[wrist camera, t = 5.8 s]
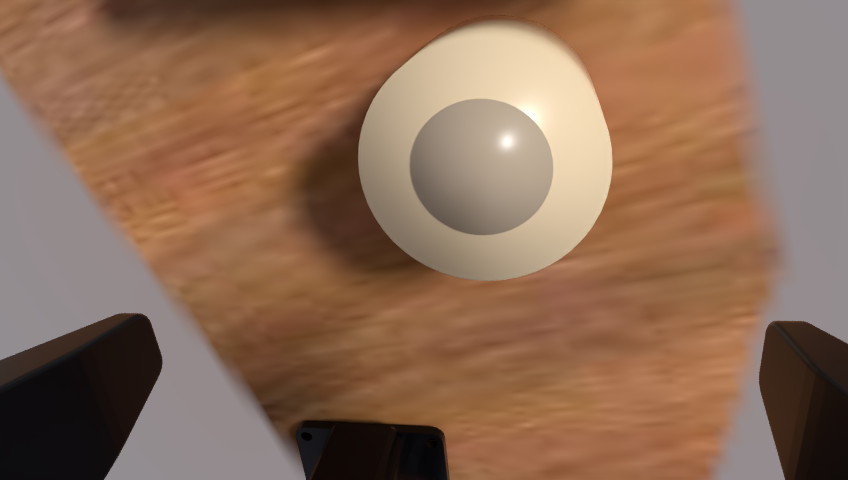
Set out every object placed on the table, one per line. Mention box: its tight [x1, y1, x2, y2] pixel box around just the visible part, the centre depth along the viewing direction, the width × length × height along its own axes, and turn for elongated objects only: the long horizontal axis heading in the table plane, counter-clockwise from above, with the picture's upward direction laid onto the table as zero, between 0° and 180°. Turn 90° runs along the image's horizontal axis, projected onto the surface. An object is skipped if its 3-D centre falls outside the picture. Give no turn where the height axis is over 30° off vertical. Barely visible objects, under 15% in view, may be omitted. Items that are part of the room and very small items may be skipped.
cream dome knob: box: [358, 15, 612, 281], centre depth 18 cm, size 6×6×5 cm
